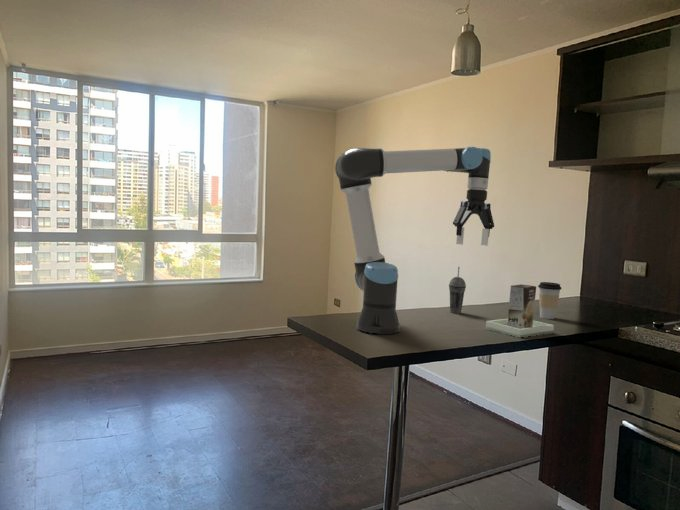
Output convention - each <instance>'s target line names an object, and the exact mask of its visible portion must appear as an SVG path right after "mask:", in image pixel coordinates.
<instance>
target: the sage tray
mask: <svg viewBox="0 0 680 510" xmlns="http://www.w3.org/2000/svg"><path fill="white" fill-rule="evenodd" d="M507 324H508V318H502V319H493V320H492V319H491V320H486V321H485V330H489V331H491V330H492V332H495V331H496V332H495V333H499V332H500V333H499V334H502V333H503V335H506V334H508V335H507V336H510V335H512V336H511V337H513V336H515V337H514V338H517V337H519V338H518V339H522V338H521V337H524V338H529V337H528V336H531V337H536V335H537V336H543V334H544V335H551V334H554V330H555V325H554V324H551V323H545V322H543V321H542V322H541V321H537V320H534V319H533V327H530V328H523V329H518V328H514V327H510V326H507Z"/></svg>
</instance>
